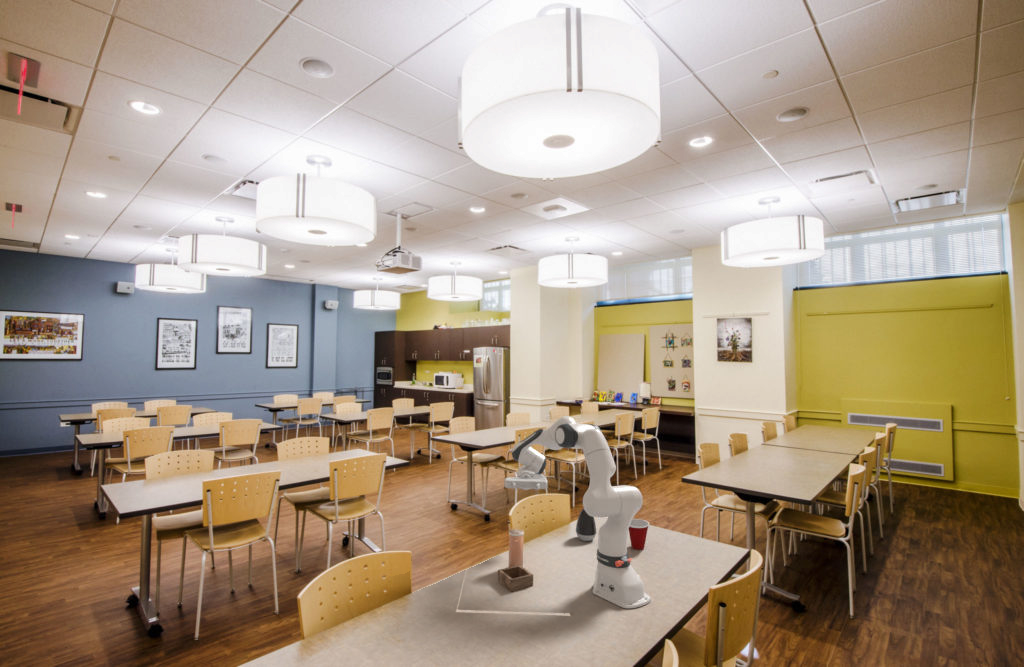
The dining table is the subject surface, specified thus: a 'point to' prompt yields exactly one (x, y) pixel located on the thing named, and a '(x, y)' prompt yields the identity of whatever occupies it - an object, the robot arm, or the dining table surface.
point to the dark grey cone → (585, 526)
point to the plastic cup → (638, 533)
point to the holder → (515, 578)
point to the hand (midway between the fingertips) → (526, 487)
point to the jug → (516, 547)
